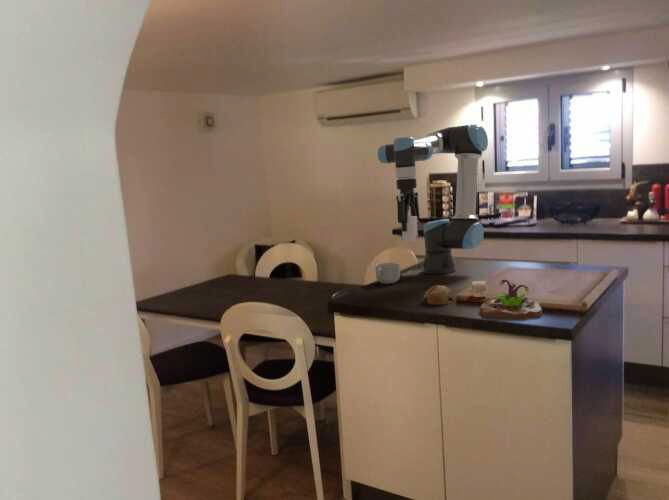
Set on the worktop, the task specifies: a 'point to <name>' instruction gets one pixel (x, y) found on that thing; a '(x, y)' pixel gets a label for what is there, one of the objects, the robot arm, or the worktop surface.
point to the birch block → (479, 286)
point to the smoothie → (411, 227)
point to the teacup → (387, 272)
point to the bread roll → (438, 295)
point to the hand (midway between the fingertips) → (410, 238)
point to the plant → (511, 305)
